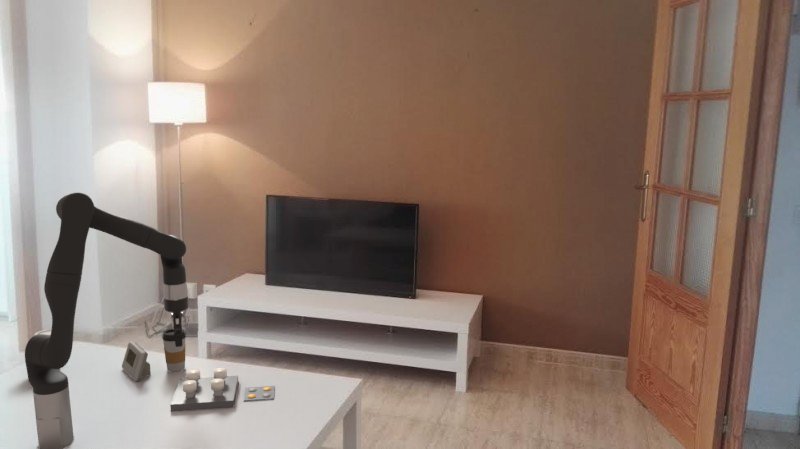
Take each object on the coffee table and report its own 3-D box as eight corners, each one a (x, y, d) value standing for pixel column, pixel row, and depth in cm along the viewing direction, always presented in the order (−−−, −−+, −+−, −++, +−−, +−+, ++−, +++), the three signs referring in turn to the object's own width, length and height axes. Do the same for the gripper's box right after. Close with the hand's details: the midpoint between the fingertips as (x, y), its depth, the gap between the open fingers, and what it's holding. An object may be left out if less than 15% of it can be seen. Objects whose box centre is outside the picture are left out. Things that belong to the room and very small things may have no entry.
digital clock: (121, 368, 247) (119, 341, 245) (147, 364, 251) (145, 337, 249) (125, 384, 233) (123, 356, 231) (152, 379, 237) (150, 352, 235)
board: (233, 407, 216) (233, 400, 216) (170, 411, 213) (170, 404, 212) (238, 382, 235) (238, 375, 235) (180, 385, 232) (180, 379, 232)
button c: (199, 388, 226) (199, 374, 225) (186, 389, 225) (185, 375, 224) (201, 383, 230) (200, 369, 229) (188, 384, 229) (187, 369, 228)
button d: (226, 387, 227) (226, 372, 226) (213, 387, 226) (212, 373, 225) (227, 381, 231) (227, 367, 230) (215, 382, 231) (214, 368, 230)
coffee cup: (163, 367, 248) (161, 329, 245) (186, 363, 252) (184, 326, 249) (165, 375, 241) (163, 336, 238) (189, 371, 244) (186, 333, 241)
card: (273, 399, 222) (273, 397, 222) (243, 401, 220) (243, 399, 220) (274, 386, 232) (274, 385, 232) (245, 388, 230) (245, 387, 230)
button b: (224, 398, 218) (223, 383, 217) (210, 399, 218) (209, 384, 217) (225, 392, 223) (224, 378, 222) (212, 393, 222) (211, 378, 221)
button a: (196, 400, 217) (195, 385, 216) (182, 401, 216) (181, 386, 215) (198, 394, 221) (197, 379, 220) (184, 395, 221) (183, 380, 220)
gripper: (163, 290, 221) (167, 335, 224) (163, 303, 208) (166, 350, 211) (187, 288, 224) (189, 333, 227) (188, 300, 210) (191, 348, 214)
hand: (178, 341), depth 219 cm, fingers open, 8 cm apart
